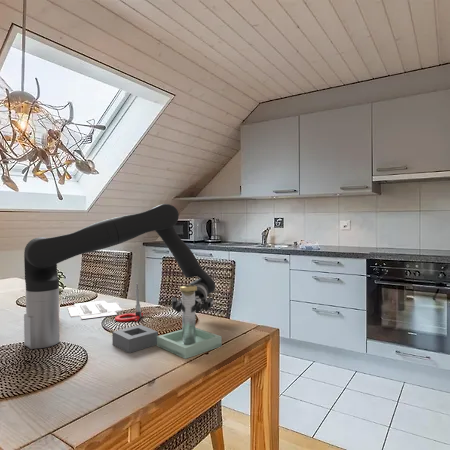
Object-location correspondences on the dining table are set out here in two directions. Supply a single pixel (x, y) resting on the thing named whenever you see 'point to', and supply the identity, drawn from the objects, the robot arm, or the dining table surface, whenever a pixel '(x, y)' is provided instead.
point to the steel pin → (188, 314)
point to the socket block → (134, 338)
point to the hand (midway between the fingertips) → (187, 309)
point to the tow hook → (135, 316)
